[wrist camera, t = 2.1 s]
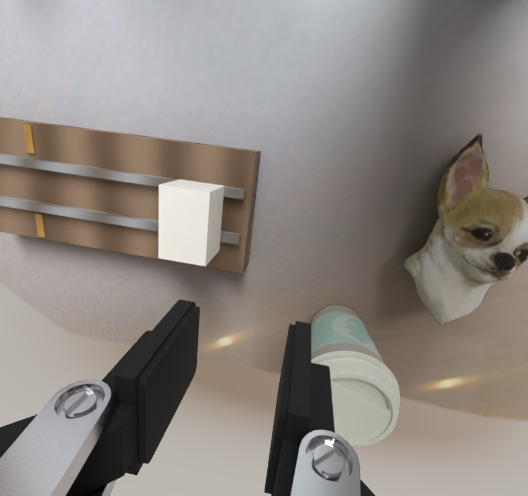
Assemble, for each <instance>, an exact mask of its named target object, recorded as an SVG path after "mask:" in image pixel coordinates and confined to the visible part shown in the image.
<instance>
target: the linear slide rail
mask: <svg viewBox="0 0 528 496" xmlns="http://www.w3.org/2000/svg"><path fill="white" fill-rule="evenodd" d="M260 153H261V151H253V150H246V149H238V148H230V147H223V146H215V145H208V144H200V143H192V142H185V141H177V140H170V139H162V138H154V137H147V136H139V135H132V134H124V133H117V132H109V131H101V130H94V129H86V128H79V127H71V126H63V125H56V124H48V123H41V122H33V121H25V120H18V119H10V118H1V117H0V232H5V233H11V234H17V235H22V236H28V237H34V238H40V239H45V240H51V241H57V242H63V243H68V244H74V245H80V246H86V247H92V248H97V249H103V250H109V251H115V252H120V253H126V254H132V255H138V256H143V257H149V258H155V259H160V258H158V235H159V185H160V184H163V183H167V182H171V181H175V180H179V179H182V180H189V181H196V182H203V183H209V184H216V185H223V186H224V197H223V210H222V223H221V236H220V250H219V252H218V253H217V254H216V255H215V256H214V257H213V258H212V259H211V261H210V262H209V263H208V264H207V265H206V266H201V267H207V268H213V269H218V270H224V271H230V272H236V273H242V274H243V272H244V270H245V268H246V266H247V265H248V261H249V252H250V243H251V234H252V225H253V216H254V207H255V198H256V189H257V180H258V171H259V162H260ZM161 260H166V259H161ZM167 261H171V260H167ZM172 262H177V261H172ZM178 263H183V262H178ZM184 264H189V263H184ZM190 265H194V264H190ZM195 266H200V265H195Z"/></svg>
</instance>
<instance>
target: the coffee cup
mask: <svg viewBox="0 0 528 496" xmlns="http://www.w3.org/2000/svg"><path fill="white" fill-rule="evenodd" d="M311 363H316V364H321V365H326V366H329V368H330V378H331V390H332V403H333V415H334V427H335V433H336V434H338V435H340V436H341V437H343V438H344V439H345V440H346V441H348V443H349V444H350V445H351V446H352V447H353V448H358V447H365V446H369V445H372V444H375V443H377V442H379V441H381V440H383V439H384V438H385V437H387V436H388V435H389V434H390V433H391V432H392V430H393V429H394V427H395V425H396V423H397V420H398V413H399V408H400V390H399V385H398V382H397V380H396V378H395V376H394V374H393V373H392V372H391V370H390V369H389V368H388V367H387V366H386V365H385V364H384V362H383V360H382V358H381V356H380V354H379V353H378V351H377V349H376V347H375V345H374V343H373V341H372V339H371V337H370V335H369V333H368V331H367V330H366V328H365V326H364V324H363V322H362V320H361V318H360V317H359V315H358V314H357V313H356V312H355V311H354V310H352V309H351V308H349V307H346V306H342V305H331V306H327V307H324V308H322V309H321V310H319V311H318V312H317V313H316V314H315V316H314V317H313V319H312V322H311Z"/></svg>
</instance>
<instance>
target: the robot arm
mask: <svg viewBox="0 0 528 496" xmlns="http://www.w3.org/2000/svg"><path fill="white" fill-rule="evenodd" d="M199 314H200V309H199V307H196V306H195V303H194V302H190V301H185V300H178V301H177V303H176V304H175V305H174V306H173V307H172V308H171V309H170V311H169V312H168V313H167V314H166V315H165V316H164V318H163V319H162V320H161V321H160V322H159V323H158V325H157V326H156V327H155V328H154V329H153V330H152V331H146V332H145V333H144V334H143V335H142V336H141V337H140V338H139V340H138V341H137V342H136V343H135V344H134V345H133V346H132V347H131V349H130V350H129V351H128V352H127V353H126V354H125V355H124V356H123V357H122V359H121V360H120V361H119V362H118V363H117V364H116V365H115V366H114V368H113V369H112V370H111V371H110V372H109V373H108V374H107V376H106V377H105V378H104V379H103V380H102V381H99V380H83V381H78V382H75V383H73V384H70V385H68V386H66V387H65V388H63V389H61V390H60V391H58V392H57V393H56V394H55V395H54V396H53V397H52V398H51V400H50V401H49V402H48V403H47V404H46V405H45V406H44V408H43V409H42V410H41V411H40V412H39V414H37V415H35V416H32V417H29V418H26V419H23V420H20V421H17V422H15V423H12V424H9V425H6V426H3V427H0V496H110V494H111V492H112V489H113V487H114V484H115V481H116V479H118V478H120V477H122V476H124V474H125V473H129V474H134V475H137V474H138V472H139V470H140V468H141V467H142V464H143V463H147V464H148V463H149V462H150V461H151V459H152V457H153V455H154V453H155V451H156V449H157V447H158V445H159V443H160V441H161V439H162V437H163V436H164V433H165V432H166V429H167V428H168V426H169V424H170V422H171V420H172V418H173V416H174V414H175V412H176V410H177V408H178V406H179V404H180V402H181V400H182V398H183V396H184V394H185V393H186V390H187V389H188V387H189V385H190V383H191V381H192V379H193V377H194V374H195V371H196V366H197V349H198V332H199ZM265 493H269V494H272V495H271V496H375V495H374V494H373V493H372V492H371V490H370V489H369V488H368V487H367V486H366V485H365V484H364V483H363V482H362V481H361V480H360V466H359V460H358V457H357V455H356V452H355V451H354V449H353V447H352V446H351V445H350V444H349V443H348V441H346V440H345V439H344V438H343V437H341V436H340V435H338V434H336V433H335V427H334V415H333V403H332V390H331V378H330V368H329V366H326V365H321V364H316V363H311V324H309V323H303V322H298V321H296V324H295V325H292V324H290V325H289V330H288V336H287V342H286V348H285V354H284V359H283V365H282V371H281V377H280V383H279V389H278V396H277V403H276V411H275V418H274V425H273V432H272V440H271V447H270V454H269V462H268V469H267V477H266V484H265Z"/></svg>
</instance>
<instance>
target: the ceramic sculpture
mask: <svg viewBox="0 0 528 496" xmlns="http://www.w3.org/2000/svg"><path fill="white" fill-rule="evenodd" d="M488 177H489V171H488V165H487V162H486V160H485V156H484V153H483V149H482V134H481V133H479V134H478V135H477V136H476V137H475V138H474V139H473V140H471V141H470V142H469V143H468V144H467V145H466V146H465V147H464V148H463V149H461V150H460V152H459V153H458V154H457V155H456V156H455V157H454V159H453V160H452V162H451V163H450V164H449V165H448V166H447V168H446V170H445V172H444V175H443V177H442V180H441V182H440V185H439V191H438V193H437V208H438V213H439V219H438V220H437V222H436V224H435V226H434V228H433V230H432V232H431V234H430V236H429V238H428V240H427V242H426V244H425V246H424V247H423V248H422V249H421V250H420V251H418V252H416V253H414V254H413V255H411V256H409V257H408V258H407V259H406V260H405V263H404V265H405V268H406V269H407V270H408V271H409V272H410V273H411V275H412V276H413V278H414V280H415V283H416V289H417V293H418V295H419V296H420V298H421V301H422V302H423V303H424V305H425V306H426V308H427V309H428V311H429V312H430V313H431V315H432V316H433V318H434V319H435V321H436V322H438V323H439V324H441V325H444V324H446V323H447V322H449V321H451V320H455V319H458V318H461V317H463V316H466V315H468V314H469V313H471V312H472V311H474V310H475V309H476V308H477V307H478V306H479V305H480V303H481V302H482V299H483V297H484V295H485V294H486V292H487V289H488V288H489V287H490V286H491V285H493V284H494V283H496V282H497V281H499V280H506V279H508V278H510V277H511V276H512V275H513V273H514V272H515V271H516V270H517V269H518V267H519V266H520V265H521V264H522V263H523V262H524V261H525V260H526V259H527V258H528V197H526V198H525V199H523V198H521V197H519V196H517V195H515V194H512V193H509V192H506V191H503V190H493V189H488V188H487V187H486V185H487V182H488Z"/></svg>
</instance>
